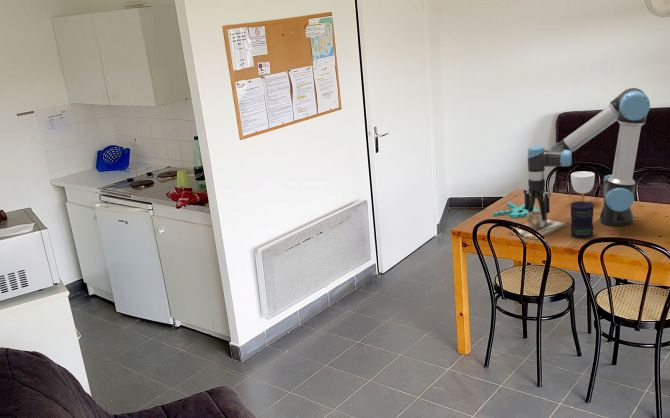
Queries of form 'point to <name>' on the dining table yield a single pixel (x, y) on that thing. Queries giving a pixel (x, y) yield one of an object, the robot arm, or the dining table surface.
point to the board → (542, 229)
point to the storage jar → (582, 220)
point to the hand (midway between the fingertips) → (537, 225)
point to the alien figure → (515, 211)
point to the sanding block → (534, 219)
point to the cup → (582, 182)
